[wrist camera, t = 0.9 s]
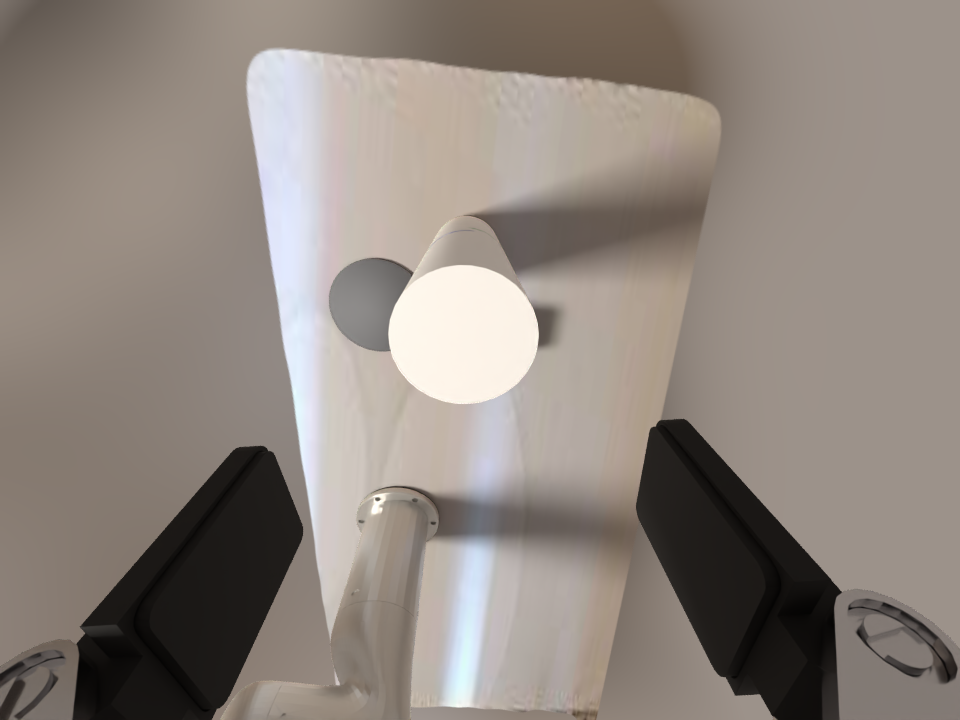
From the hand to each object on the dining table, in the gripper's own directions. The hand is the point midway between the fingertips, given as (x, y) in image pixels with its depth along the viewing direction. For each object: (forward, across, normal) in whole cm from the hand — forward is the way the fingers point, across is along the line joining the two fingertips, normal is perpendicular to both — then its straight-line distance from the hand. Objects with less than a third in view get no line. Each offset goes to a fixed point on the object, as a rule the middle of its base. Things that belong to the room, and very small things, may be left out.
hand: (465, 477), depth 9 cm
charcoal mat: (+34, +11, +6) cm, 36 cm away
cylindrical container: (+34, 0, 0) cm, 34 cm away
